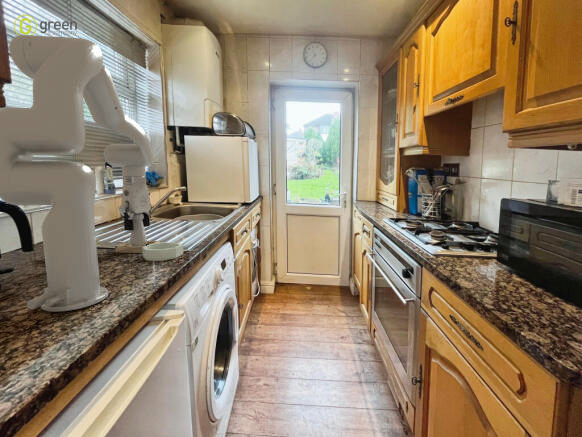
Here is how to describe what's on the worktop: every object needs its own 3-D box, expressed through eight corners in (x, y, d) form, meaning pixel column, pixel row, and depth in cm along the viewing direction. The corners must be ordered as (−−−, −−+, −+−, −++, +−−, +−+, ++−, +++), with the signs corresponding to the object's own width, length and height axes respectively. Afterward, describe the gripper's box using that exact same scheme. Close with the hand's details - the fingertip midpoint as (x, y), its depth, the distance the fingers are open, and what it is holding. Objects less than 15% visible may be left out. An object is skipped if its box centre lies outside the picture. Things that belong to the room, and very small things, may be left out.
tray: (144, 254, 105) (143, 247, 105) (115, 253, 106) (114, 246, 106) (161, 247, 116) (160, 241, 115) (134, 246, 117) (134, 240, 117)
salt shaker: (140, 249, 107) (138, 214, 105) (126, 249, 108) (123, 213, 107) (150, 246, 113) (148, 212, 111) (137, 245, 114) (135, 212, 112)
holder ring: (171, 261, 96) (170, 250, 96) (136, 260, 97) (135, 249, 97) (187, 252, 108) (187, 242, 107) (156, 251, 109) (156, 242, 109)
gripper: (128, 181, 99) (132, 232, 101) (157, 181, 116) (160, 225, 118) (107, 181, 100) (111, 232, 102) (139, 181, 117) (142, 224, 119)
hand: (137, 228), depth 110 cm, fingers open, 9 cm apart
